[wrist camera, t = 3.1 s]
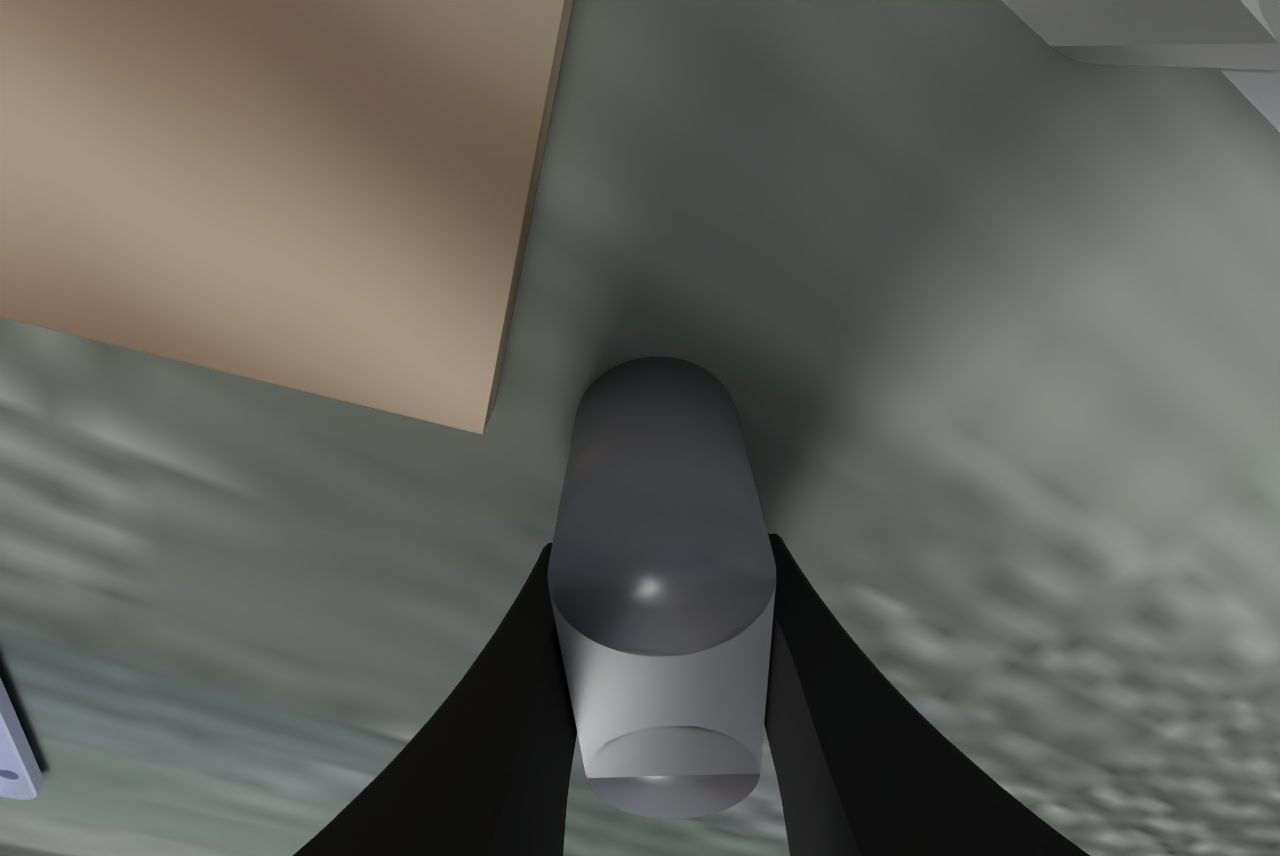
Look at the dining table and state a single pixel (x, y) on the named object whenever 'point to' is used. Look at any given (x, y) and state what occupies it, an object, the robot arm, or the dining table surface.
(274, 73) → the cork pad
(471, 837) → the robot arm
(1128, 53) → the offwhite plug
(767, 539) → the charcoal plug
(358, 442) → the dining table surface
